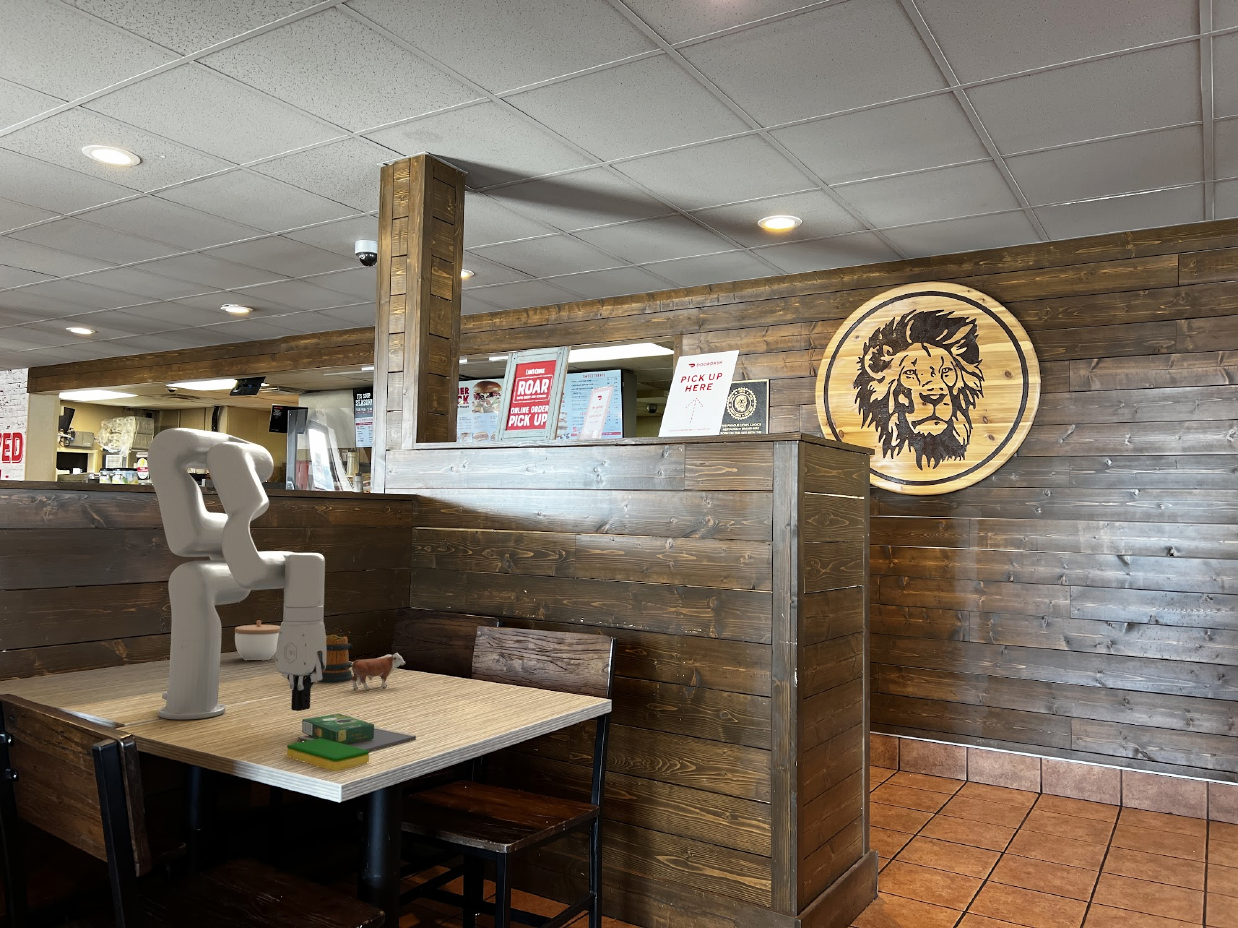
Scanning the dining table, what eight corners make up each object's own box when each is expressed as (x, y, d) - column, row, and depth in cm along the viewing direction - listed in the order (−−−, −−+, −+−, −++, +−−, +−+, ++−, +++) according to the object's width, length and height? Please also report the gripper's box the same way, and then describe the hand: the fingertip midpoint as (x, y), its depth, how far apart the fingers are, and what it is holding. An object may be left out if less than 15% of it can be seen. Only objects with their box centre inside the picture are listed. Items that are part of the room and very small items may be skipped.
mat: (298, 740, 164) (298, 736, 164) (357, 727, 176) (357, 723, 176) (358, 754, 155) (358, 750, 155) (415, 739, 167) (415, 735, 167)
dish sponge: (334, 773, 145) (335, 758, 145) (285, 758, 153) (285, 744, 153) (370, 764, 151) (370, 750, 151) (320, 750, 159) (321, 737, 159)
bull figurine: (406, 686, 220) (407, 653, 220) (353, 691, 212) (354, 657, 212) (399, 683, 223) (400, 650, 224) (346, 688, 215) (348, 654, 216)
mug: (361, 680, 227) (363, 634, 228) (324, 684, 220) (326, 637, 220) (336, 673, 236) (338, 629, 237) (299, 677, 229) (301, 632, 229)
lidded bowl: (288, 656, 262) (289, 618, 263) (267, 663, 249) (269, 623, 250) (247, 654, 263) (249, 617, 264) (224, 661, 251) (226, 622, 251)
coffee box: (299, 734, 167) (336, 746, 158) (300, 718, 167) (336, 730, 158) (338, 727, 173) (375, 739, 164) (339, 712, 173) (376, 723, 164)
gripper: (263, 614, 176) (259, 708, 175) (313, 618, 168) (310, 717, 167) (294, 611, 182) (291, 702, 181) (344, 615, 175) (341, 710, 173)
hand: (300, 709), depth 174 cm, fingers closed
